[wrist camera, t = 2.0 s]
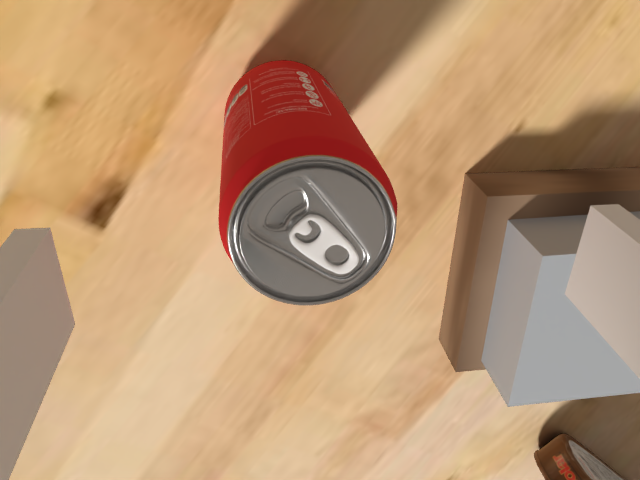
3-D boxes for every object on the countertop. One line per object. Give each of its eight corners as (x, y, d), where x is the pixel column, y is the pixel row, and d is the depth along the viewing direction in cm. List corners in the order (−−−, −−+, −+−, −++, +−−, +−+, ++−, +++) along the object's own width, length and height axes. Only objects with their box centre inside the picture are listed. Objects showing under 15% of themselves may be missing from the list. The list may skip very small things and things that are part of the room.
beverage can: (278, 29, 24) (313, 105, 13) (358, 110, 26) (441, 229, 15) (201, 115, 25) (177, 245, 15) (283, 185, 27) (313, 340, 17)
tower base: (435, 333, 34) (455, 372, 31) (460, 169, 29) (487, 196, 26) (597, 320, 35) (631, 356, 32) (650, 162, 30) (696, 187, 27)
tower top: (481, 360, 31) (507, 406, 28) (507, 219, 26) (542, 256, 23) (627, 346, 32) (668, 389, 29) (676, 208, 28) (730, 242, 24)
